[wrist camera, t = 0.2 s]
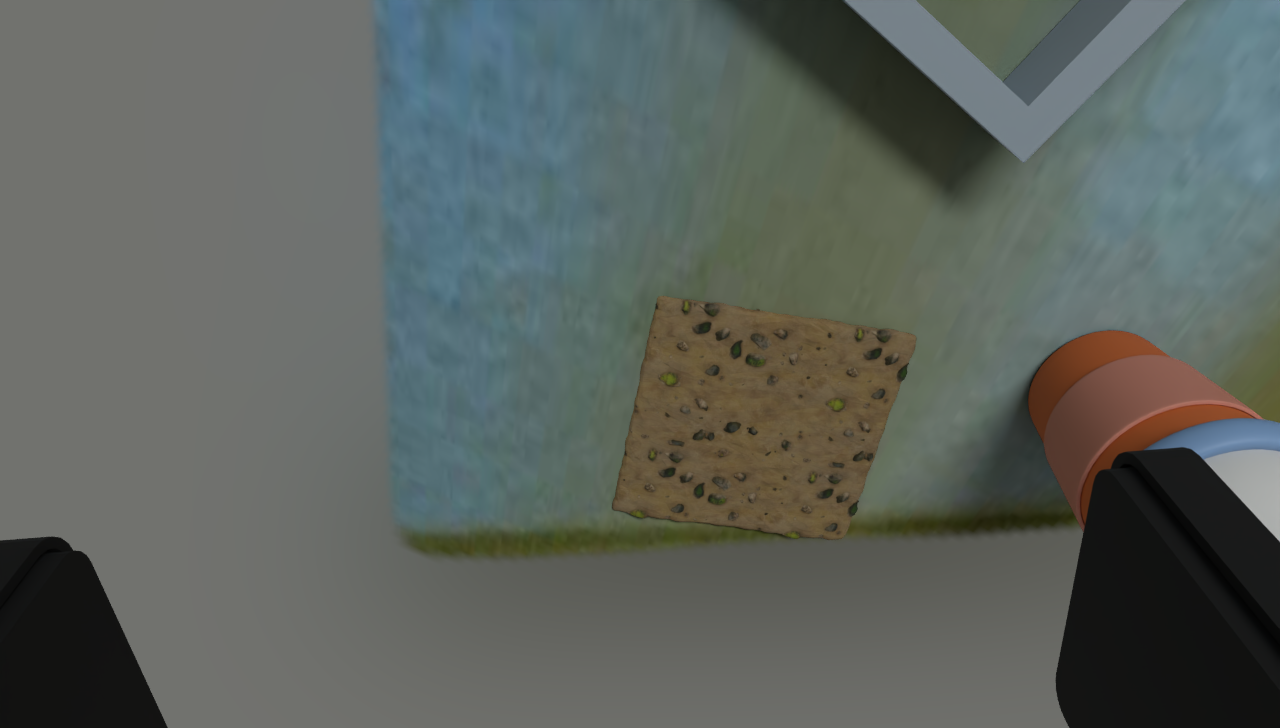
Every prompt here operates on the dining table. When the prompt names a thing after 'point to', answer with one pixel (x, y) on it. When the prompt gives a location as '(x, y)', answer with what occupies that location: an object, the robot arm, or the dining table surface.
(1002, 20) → the dining table surface
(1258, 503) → the cup with straw
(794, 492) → the cookie
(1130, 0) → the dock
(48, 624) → the robot arm
